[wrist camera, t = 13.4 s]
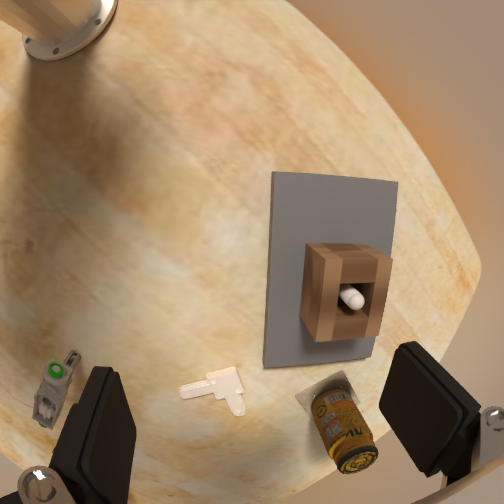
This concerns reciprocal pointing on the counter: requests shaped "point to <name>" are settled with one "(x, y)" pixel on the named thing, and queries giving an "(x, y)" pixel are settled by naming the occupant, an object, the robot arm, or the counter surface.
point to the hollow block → (327, 290)
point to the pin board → (318, 231)
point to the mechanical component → (53, 389)
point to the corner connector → (219, 389)
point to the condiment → (340, 423)
